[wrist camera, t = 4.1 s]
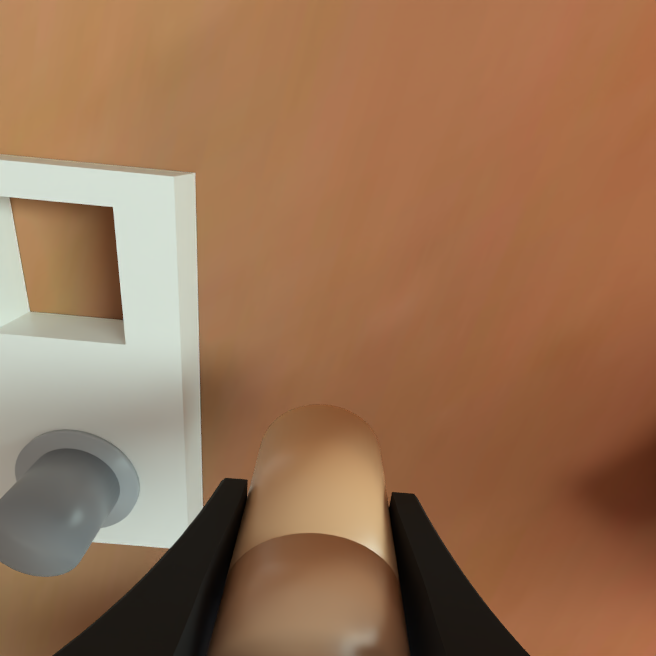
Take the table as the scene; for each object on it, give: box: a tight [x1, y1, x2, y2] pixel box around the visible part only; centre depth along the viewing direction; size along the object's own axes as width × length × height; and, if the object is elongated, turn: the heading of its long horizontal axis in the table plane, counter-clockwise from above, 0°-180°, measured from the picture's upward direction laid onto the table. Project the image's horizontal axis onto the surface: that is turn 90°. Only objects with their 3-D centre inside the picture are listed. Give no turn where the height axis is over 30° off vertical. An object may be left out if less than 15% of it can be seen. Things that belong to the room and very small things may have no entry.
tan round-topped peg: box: [207, 404, 410, 656], centre depth 11 cm, size 4×4×7 cm
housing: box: [0, 154, 203, 577], centre depth 18 cm, size 10×18×6 cm, turn 175°
